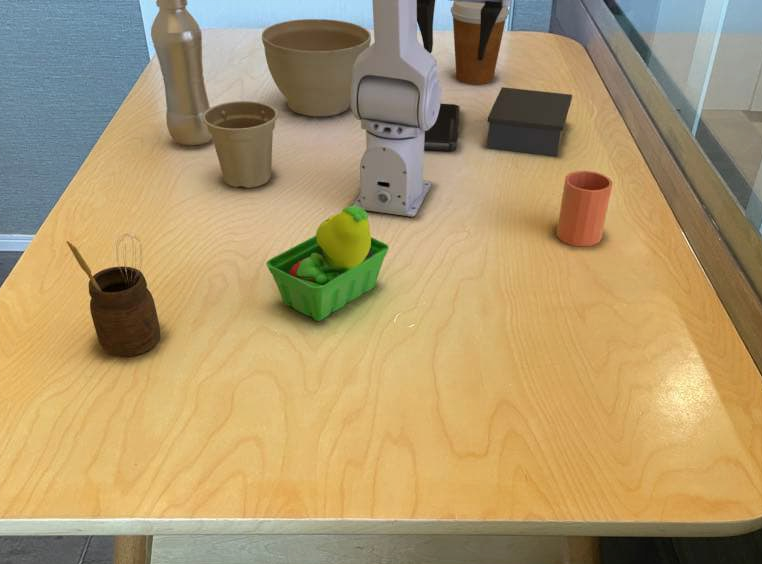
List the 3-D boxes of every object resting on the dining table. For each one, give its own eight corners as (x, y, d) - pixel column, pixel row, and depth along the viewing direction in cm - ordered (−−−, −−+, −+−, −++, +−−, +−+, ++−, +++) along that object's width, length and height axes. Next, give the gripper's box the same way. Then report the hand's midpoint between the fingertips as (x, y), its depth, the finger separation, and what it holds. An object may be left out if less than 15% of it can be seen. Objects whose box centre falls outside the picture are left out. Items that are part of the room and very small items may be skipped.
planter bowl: (360, 130, 121) (359, 54, 114) (255, 122, 123) (247, 46, 115) (379, 92, 133) (379, 21, 126) (283, 85, 135) (278, 14, 127)
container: (558, 157, 115) (563, 126, 112) (484, 148, 116) (487, 117, 114) (567, 124, 124) (572, 94, 121) (498, 116, 126) (501, 86, 123)
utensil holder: (173, 341, 80) (151, 232, 72) (115, 368, 77) (86, 257, 69) (142, 316, 84) (118, 209, 76) (85, 340, 80) (54, 231, 72)
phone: (401, 141, 115) (409, 101, 126) (401, 148, 116) (409, 109, 127) (457, 143, 115) (460, 104, 126) (457, 151, 115) (460, 111, 127)
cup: (599, 249, 95) (610, 194, 91) (554, 242, 96) (563, 187, 92) (602, 228, 99) (613, 174, 95) (559, 222, 100) (567, 168, 96)
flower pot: (196, 184, 106) (186, 119, 101) (239, 158, 113) (232, 95, 107) (255, 201, 103) (248, 134, 98) (296, 172, 110) (292, 109, 104)
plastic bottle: (207, 152, 114) (185, -2, 101) (162, 148, 115) (134, -6, 102) (223, 134, 119) (204, -15, 106) (180, 130, 120) (156, -19, 107)
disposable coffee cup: (437, 72, 140) (440, -3, 132) (485, 65, 143) (491, -9, 136) (463, 91, 134) (468, 12, 126) (513, 83, 137) (521, 6, 129)
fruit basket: (339, 262, 92) (336, 168, 85) (400, 290, 88) (402, 193, 81) (266, 305, 85) (256, 206, 78) (328, 337, 81) (323, 236, 74)
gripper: (519, -54, 109) (508, 52, 118) (414, -61, 112) (411, 42, 121) (512, -42, 104) (501, 67, 113) (402, -51, 107) (400, 57, 116)
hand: (454, 55), depth 117 cm, fingers open, 7 cm apart
